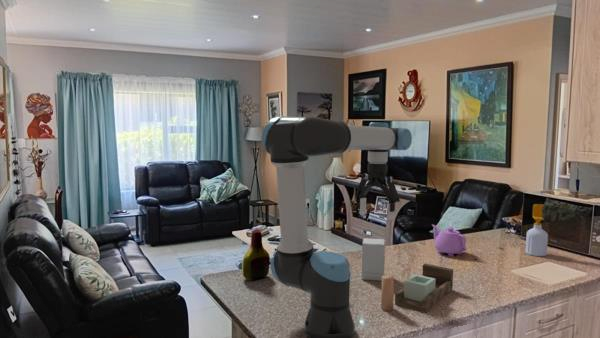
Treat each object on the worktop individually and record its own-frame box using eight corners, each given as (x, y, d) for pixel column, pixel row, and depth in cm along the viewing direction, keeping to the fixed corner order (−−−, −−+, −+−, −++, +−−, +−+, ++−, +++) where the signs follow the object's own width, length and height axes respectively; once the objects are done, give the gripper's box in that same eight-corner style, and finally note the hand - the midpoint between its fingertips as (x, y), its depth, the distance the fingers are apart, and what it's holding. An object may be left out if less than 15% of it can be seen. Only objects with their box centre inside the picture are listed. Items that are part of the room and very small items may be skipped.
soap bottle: (527, 255, 215) (530, 204, 212) (524, 250, 224) (526, 201, 221) (548, 257, 212) (551, 205, 210) (544, 252, 221) (547, 202, 218)
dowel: (389, 312, 151) (390, 280, 149) (378, 309, 153) (379, 277, 152) (395, 308, 154) (396, 276, 153) (384, 305, 156) (385, 274, 155)
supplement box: (383, 281, 179) (384, 244, 178) (361, 279, 181) (361, 243, 179) (384, 274, 188) (385, 238, 187) (362, 272, 190) (363, 237, 188)
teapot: (421, 250, 223) (422, 225, 222) (440, 245, 231) (441, 221, 230) (456, 260, 207) (457, 233, 205) (475, 255, 215) (476, 229, 214)
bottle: (266, 273, 188) (266, 226, 186) (273, 278, 182) (273, 229, 180) (239, 278, 182) (239, 229, 180) (245, 283, 176) (245, 233, 174)
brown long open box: (425, 312, 150) (426, 289, 149) (394, 304, 157) (395, 282, 156) (452, 289, 171) (453, 269, 170) (424, 283, 177) (425, 263, 177)
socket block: (425, 302, 154) (425, 285, 153) (403, 297, 159) (404, 280, 158) (434, 294, 161) (435, 278, 160) (414, 289, 166) (414, 274, 165)
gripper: (410, 164, 166) (408, 221, 169) (359, 160, 185) (358, 211, 187) (397, 165, 162) (395, 223, 164) (347, 160, 181) (346, 213, 183)
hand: (376, 217), depth 176 cm, fingers open, 13 cm apart
